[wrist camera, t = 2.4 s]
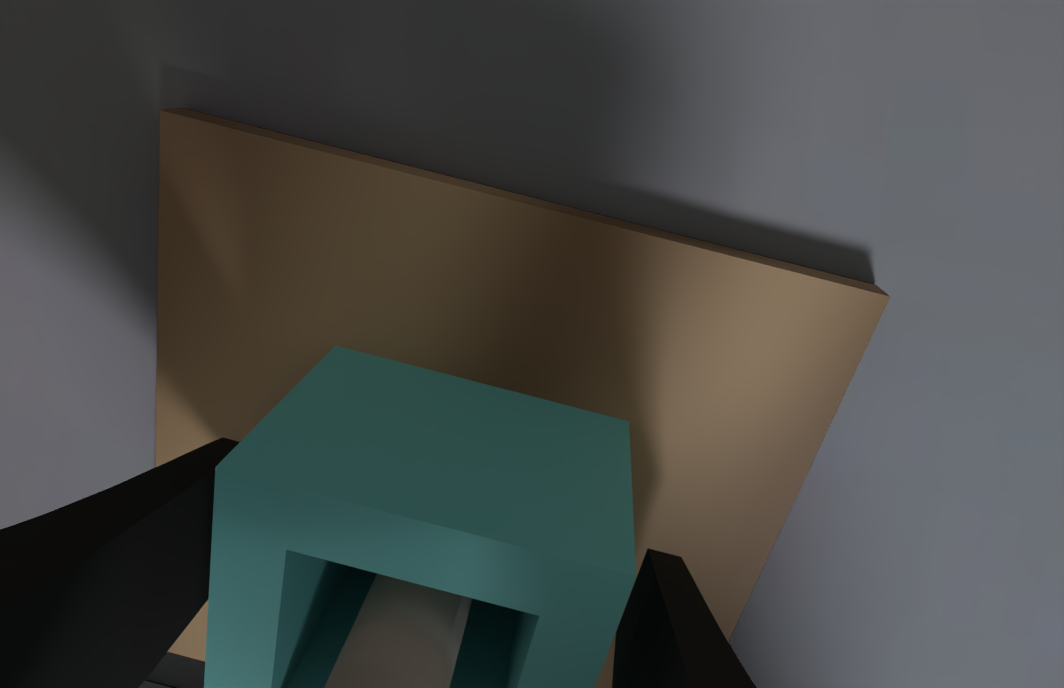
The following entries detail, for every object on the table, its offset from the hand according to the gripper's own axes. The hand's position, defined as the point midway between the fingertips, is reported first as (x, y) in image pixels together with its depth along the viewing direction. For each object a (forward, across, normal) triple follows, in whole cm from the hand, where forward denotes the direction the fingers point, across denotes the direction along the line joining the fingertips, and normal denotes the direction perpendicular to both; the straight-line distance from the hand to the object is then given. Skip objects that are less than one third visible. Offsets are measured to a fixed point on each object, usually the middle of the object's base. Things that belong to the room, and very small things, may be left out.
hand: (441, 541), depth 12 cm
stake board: (+2, 0, 0) cm, 2 cm away
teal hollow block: (+1, 0, 0) cm, 1 cm away
